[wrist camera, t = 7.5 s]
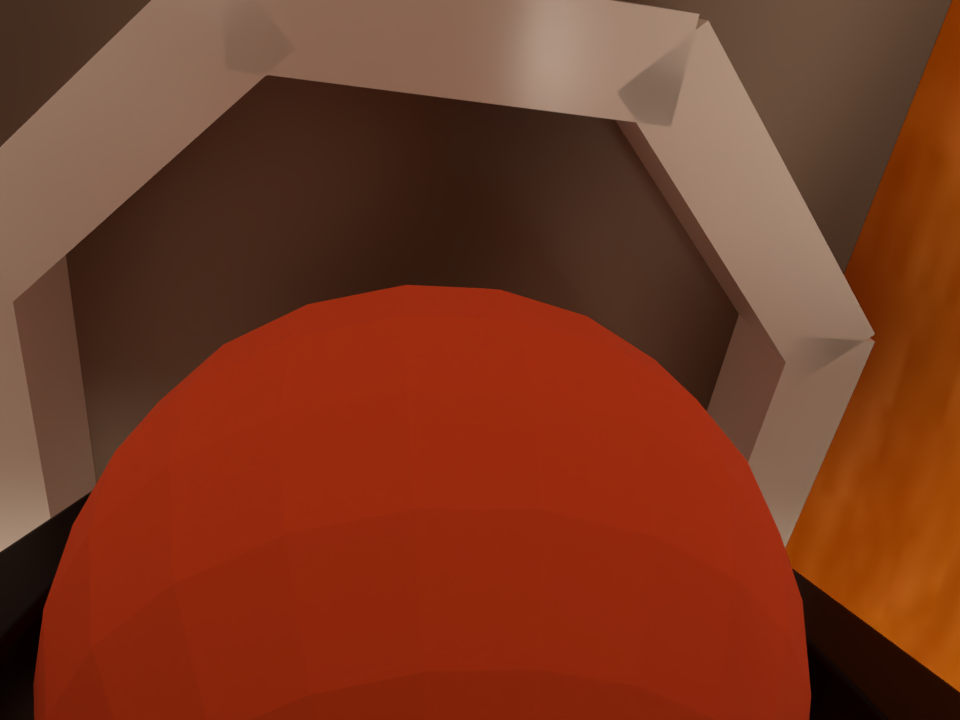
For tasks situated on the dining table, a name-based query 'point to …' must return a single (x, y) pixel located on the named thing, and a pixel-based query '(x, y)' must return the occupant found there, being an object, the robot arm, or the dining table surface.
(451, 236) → the board
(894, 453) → the dining table surface
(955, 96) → the dining table surface
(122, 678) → the clementine
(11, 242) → the seat ring
